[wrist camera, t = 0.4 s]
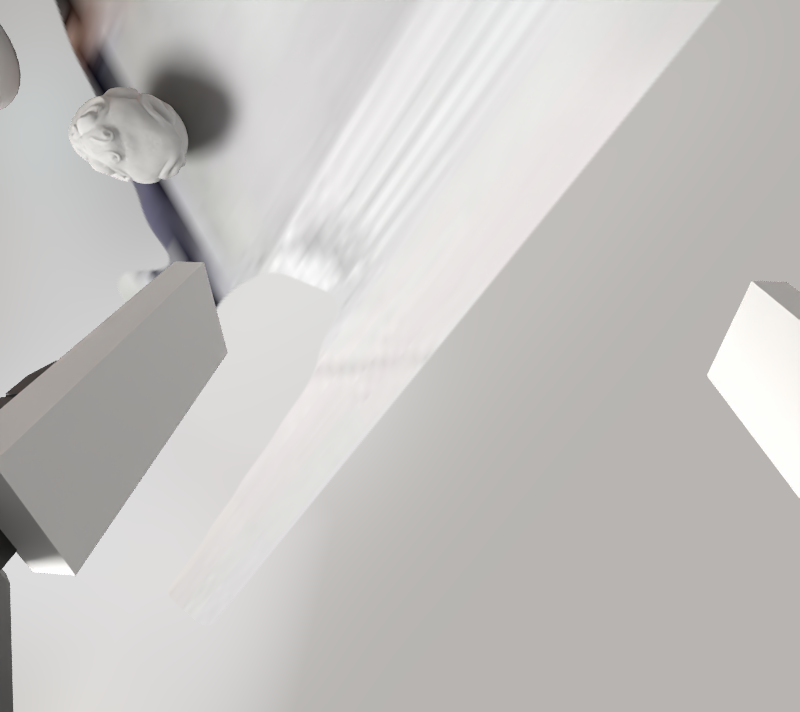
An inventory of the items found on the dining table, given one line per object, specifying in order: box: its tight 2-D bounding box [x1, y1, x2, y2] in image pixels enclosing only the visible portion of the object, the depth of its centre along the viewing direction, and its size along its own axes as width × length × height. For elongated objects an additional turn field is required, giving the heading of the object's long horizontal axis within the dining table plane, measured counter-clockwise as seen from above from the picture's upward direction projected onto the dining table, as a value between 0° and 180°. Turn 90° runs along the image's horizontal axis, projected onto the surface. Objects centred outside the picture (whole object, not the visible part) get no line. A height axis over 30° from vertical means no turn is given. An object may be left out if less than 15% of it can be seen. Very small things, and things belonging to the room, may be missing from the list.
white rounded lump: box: [69, 87, 188, 184], centre depth 32 cm, size 6×7×7 cm
